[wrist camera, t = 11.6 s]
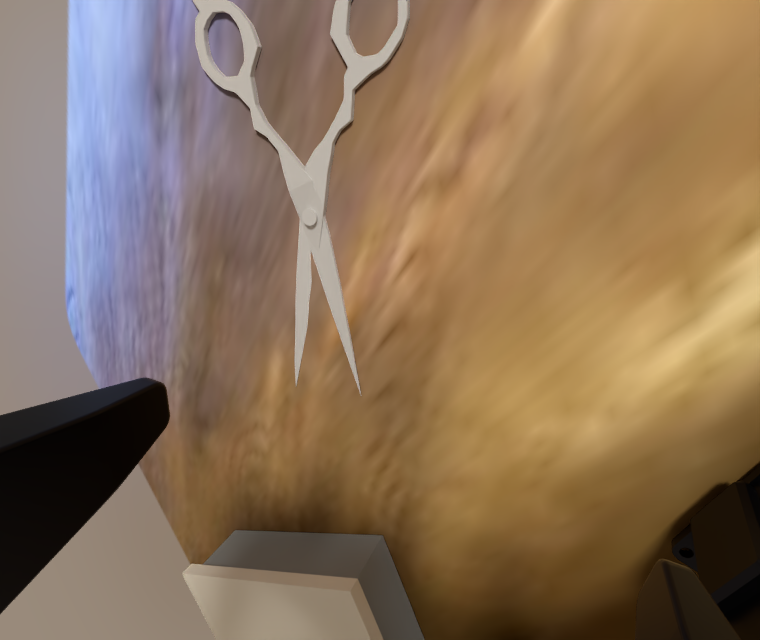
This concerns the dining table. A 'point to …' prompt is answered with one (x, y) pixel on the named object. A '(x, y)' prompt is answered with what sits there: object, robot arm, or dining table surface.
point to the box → (302, 588)
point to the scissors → (313, 178)
